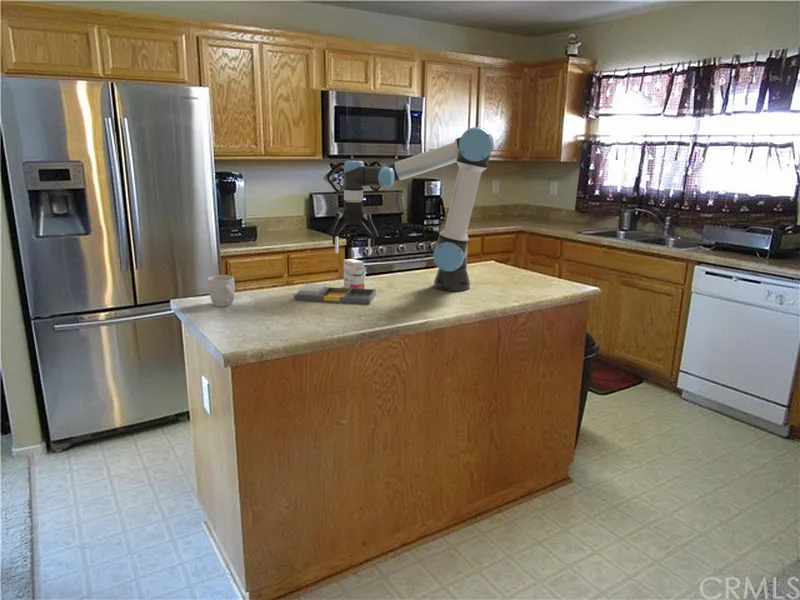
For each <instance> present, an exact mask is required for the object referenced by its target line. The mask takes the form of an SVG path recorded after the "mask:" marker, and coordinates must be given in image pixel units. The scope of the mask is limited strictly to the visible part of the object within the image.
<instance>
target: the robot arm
mask: <svg viewBox="0 0 800 600" xmlns="http://www.w3.org/2000/svg"><path fill="white" fill-rule="evenodd" d="M494 144H495V143H494V137H493V136H492V134H491V133H490V132H489V131H488V130H487V129H485V128H484V127H483V128H482V127H481V126H480V127H477V126H474V127H470V128H469V129H466V130H465V131H464V132H463V133H462V135H461V136H460V137H457V138H455V139H454V141H453V142H451V143H448V144H445V145H442V146H438V147H436V148H433V149H430V150H428V151H424V152H421V153H419V154H415V155H413V156H410V157H406V158H404V159H401V160H398V161H395V162H393V163H392V162H391V163H389V164H386V165H383V166H365V165H364V161H362V160H346V161H345V162H344V165H343V167H344V168H343V182H344V183H343V190H344V191H343V200H344V202H343V213H342V212H339V211H337V212H336V213H335V219H334V220H333V223H332V224H331V227H330V229H328V232H327V235H328V236H330V237H331V238H332V245H333V246H334V254H339V236H337V235H338V234H340V232H341V231H342V230H343V229H344V227H345V226H346V225H350V226H351V225H355V226H357V225H359V226H360V227H361V229H363V231H364V232H365V233H366V235H367V236H368V237H369V238H368V239H367V240H368V241H367V242H368V243H367V244H368V245H367V246H368V247H367V255H368V256H371V255H372V248H373V247H374V246H375V239H377V238H378V237H379V233H378V231H377V228H376V226H375V224H374V222H373V220H372V214H371V213H364V202H363V200H364V187H375V188H384V189H385V188H391V187H393V185H394V183H397V182H399V181H403V180H406V179H409V178H412V177H415V176H417V175H418V176H419V175H422V174H425V173H427V172H430V171H434V170H436V169H440V168H442V167H443V168H444V167H446V166H450V165H452V164H455V163H456V164H457V166H458V170H457V175H456V179H455V183H454V187H453V193H452V196H451V200H450V204H449V207H448V208H449V210H448V213H447V217H446V222H445V226H444V229H443V230H441V231H439V234H438V239H437V243H436V247H435V249H434V250H433V254H432V256H433V257H432V259H433V262H434V264H435V265H436V266H437V268H438V269H437V272H436V275H435V278H434V281H433V287H434V288H435V289H438V290H439V291H440V290H441V291H446V292H461V291H462V292H463V291H467V290H469V289H470V287H471V282H470V278H469V274H468V267H467V266H468V250H469V247H468V245H469V244H468V243H469V235H468V233H467V232H468V228H469V224H470V222H471V221H470V220H471V216H472V212H473V208H474V204H475V200H476V196H477V192H478V188H479V184H480V180H481V176H482V173H483V172H484V171H485V170H487V168H488V165H489V161H490V156H491V153H492V151H493V150H494ZM342 217H343V219H344V220H343V222H342V223H341V225H340V226H339V227H338V228H337V229H336V230H335V228H336V227H337V225H338V222H339V221H340V219H341V218H342ZM363 219H365V220H367V224H368V225H369V227H370V229H369V228H368V227H367V224H365V223H364V221H363ZM371 231H372V232H371Z"/></svg>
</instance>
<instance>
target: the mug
mask: <svg viewBox="0 0 800 600" xmlns="http://www.w3.org/2000/svg"><path fill="white" fill-rule="evenodd" d="M207 283H208V293H209V297H210V300H211V303H212V304H213V305H214V306H215V307H218V308H219V307H220V308H221V307H222V308H223V307H228V306H232V305H233V303H234V299H235V293H236V291H235V287H236V286H235V277H234V276H233V275H228V274H220V275H219V274H218V275H212V276H209V277H208V279H207Z"/></svg>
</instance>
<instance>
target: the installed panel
mask: <svg viewBox="0 0 800 600" xmlns="http://www.w3.org/2000/svg"><path fill="white" fill-rule="evenodd" d="M326 287H327V284H324V283H306V284H305V285H303V286H302V287H301V288H300V289H298V292H299V295H314V296H320V295H321V294H322V293H323V291H324V290H325V289H326Z"/></svg>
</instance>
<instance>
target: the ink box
mask: <svg viewBox="0 0 800 600" xmlns="http://www.w3.org/2000/svg"><path fill="white" fill-rule="evenodd" d="M343 288H355V289H365V262H364V261H361V260H359V259H355V258H348V259H346V258H345V259H343Z"/></svg>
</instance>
